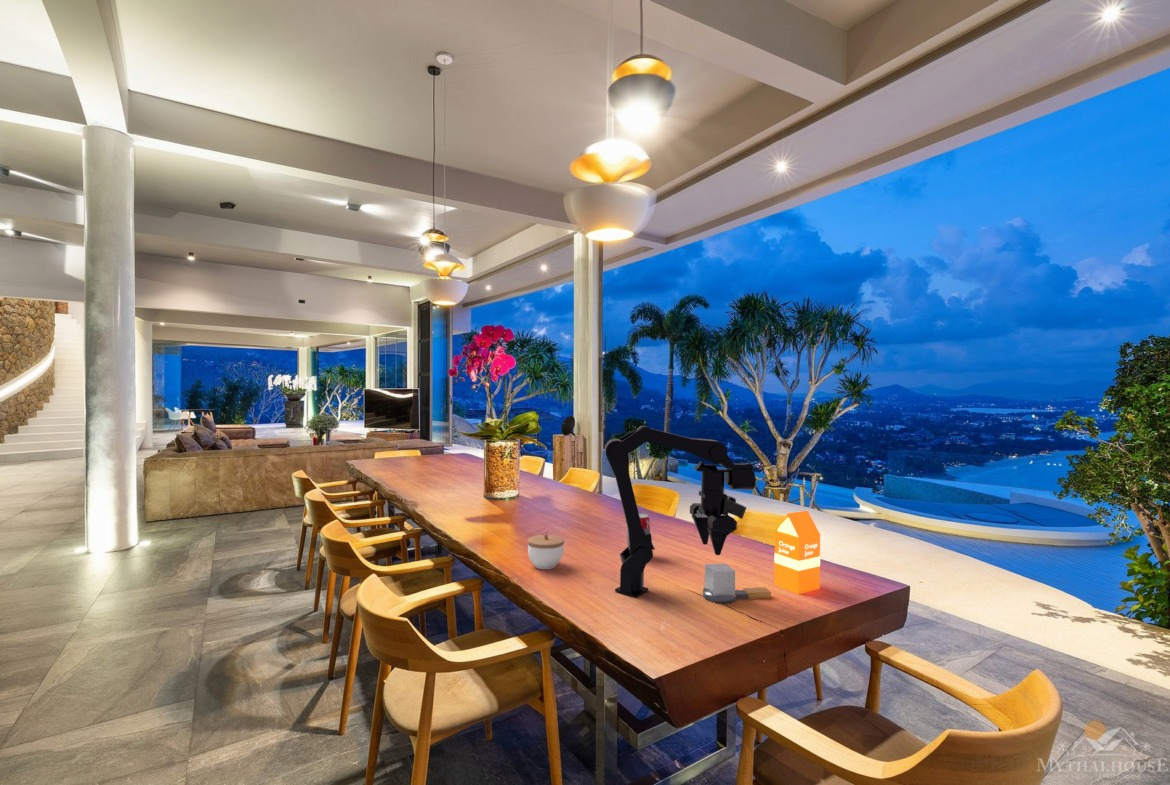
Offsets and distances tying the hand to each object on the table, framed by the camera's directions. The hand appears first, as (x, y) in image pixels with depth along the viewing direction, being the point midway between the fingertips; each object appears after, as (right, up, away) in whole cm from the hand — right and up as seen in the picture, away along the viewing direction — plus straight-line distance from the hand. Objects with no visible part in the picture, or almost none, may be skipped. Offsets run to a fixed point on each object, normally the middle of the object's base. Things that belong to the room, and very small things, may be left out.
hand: (711, 549), depth 129 cm
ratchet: (+6, -11, -3) cm, 13 cm away
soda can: (-16, -12, +29) cm, 35 cm away
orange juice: (+24, -12, +5) cm, 28 cm away
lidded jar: (-44, -11, +18) cm, 49 cm away
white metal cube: (+1, -10, -3) cm, 10 cm away
